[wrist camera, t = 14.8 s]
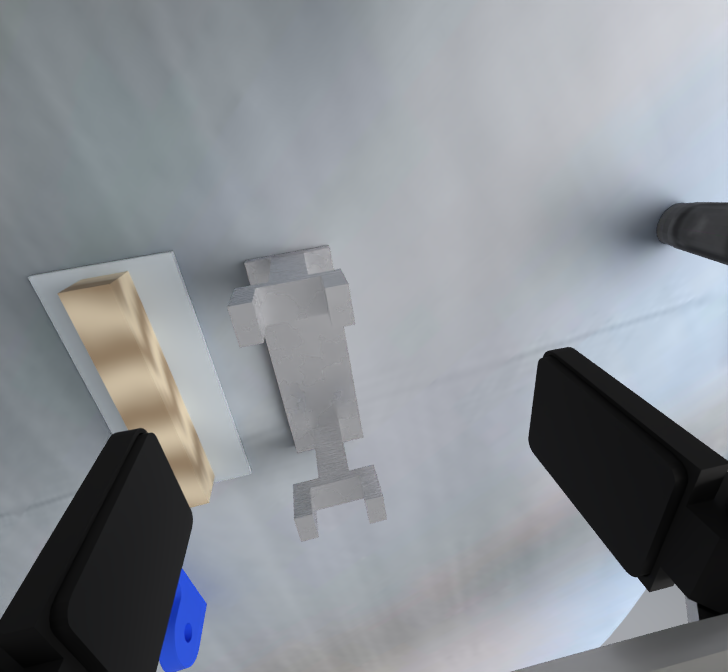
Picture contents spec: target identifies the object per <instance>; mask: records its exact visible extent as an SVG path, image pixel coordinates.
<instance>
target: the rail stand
mask: <svg viewBox="0 0 728 672" xmlns="http://www.w3.org/2000/svg"><path fill="white" fill-rule="evenodd" d="M244 264H245V268H246V271H247V275H248V278H249V282H250V286H245V287H240V288H234V291H233V294H232V296H231V299H230V301H229V304H228V306H227V308H228V311H229V314H230V317H231V320H232V324H233V327H234V330H235V333H236V336H237V339H238V343H239V346H240V348H241V347H246V346H251V345H256V344H261V343H264V336H265V339H266V343H267V346H268V350H269V354H270V357H271V361H272V364H273V368H274V371H275V375H276V379H277V382H278V386H279V389H280V393H281V396H282V400H283V404H284V407H285V411H286V414H287V418H288V422H289V425H290V429H291V432H292V436H293V439H294V443H295V447H296V450H297V453H300V452H304V451H308V450H313V449H316V458H317V467H318V476H319V478H318V479H314V480H310V481H305V482H301V483H297V484H293V498H294V521H295V524H296V527H297V530H298V533H299V536H300V540H301V542H302V541H306V540H310V539H314V538H318V537H319V535H318V524H317V513H316V510H320V509H324V508H328V507H332V506H335V505H339V504H343V503H347V502H351V501H355V500H359V499H363V498H364V500H365V505H366V509H367V513H368V517H369V522H370V524H371V523H375V522H379V521H382V520H386V519H387V518H386V512H385V505H384V499H383V495H382V491H381V488H380V484H379V481H378V478H377V474H376V471H375V467H374V465H371V466H366V467H362V468H358V469H354V470H350V471H349V469H348V464H347V459H346V454H345V449H344V445H343V442H346V441H351V440H355V439H359V438H363V432H362V427H361V421H360V415H359V410H358V404H357V398H356V393H355V387H354V381H353V376H352V370H351V364H350V359H349V353H348V347H347V342H346V336H345V331H344V326H349V325H354V324H355V320H354V314H353V308H352V302H351V296H350V290H349V284H348V282H347V280H346V278H345V276H344V274H343V272H342V270H341V269H336V270H334V268H333V263H332V257H331V251H330V247H329V245H328V246H322V247H317V248H311V249H305V250H300V251H294V252H289V253H283V254H278V255H272V256H266V257H261V258H255V259H250V260H245V263H244Z"/></svg>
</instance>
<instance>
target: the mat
mask: <svg viewBox="0 0 728 672" xmlns="http://www.w3.org/2000/svg"><path fill="white" fill-rule="evenodd" d="M126 271H129V274H130V276H131V278H132V281H133V283H134V285H135V288H136V290H137V293H138V295H139V297H140V300H141V302H142V304H143V307H144V309H145V312H146V314H147V316H148V319H149V321H150V323H151V326H152V328H153V331H154V333H155V335H156V338H157V340H158V342H159V345H160V347H161V350H162V352H163V354H164V357H165V359H166V361H167V364H168V366H169V368H170V371H171V373H172V376H173V378H174V380H175V383H176V385H177V387H178V390H179V392H180V395H181V397H182V399H183V402H184V404H185V406H186V409H187V411H188V414H189V416H190V418H191V421H192V423H193V425H194V428H195V430H196V433H197V435H198V437H199V440H200V442H201V444H202V447H203V449H204V452H205V454H206V456H207V459H208V461H209V463H210V466H211V468H212V471H213V473H214V475H215V477H214V482H213V483H216V482H221V481H225V480H229V479H233V478H237V477H241V476H246V475H250V474H251V468H250V465H249V463H248V460H247V457H246V454H245V451H244V448H243V446H242V443H241V440H240V437H239V434H238V432H237V429H236V426H235V423H234V420H233V418H232V415H231V412H230V409H229V406H228V404H227V401H226V398H225V395H224V392H223V390H222V387H221V384H220V381H219V378H218V376H217V373H216V370H215V367H214V364H213V362H212V359H211V356H210V353H209V350H208V348H207V345H206V342H205V339H204V336H203V334H202V331H201V328H200V325H199V322H198V320H197V317H196V314H195V311H194V308H193V305H192V303H191V300H190V297H189V294H188V291H187V289H186V286H185V283H184V280H183V277H182V275H181V272H180V269H179V266H178V263H177V261H176V258H175V255H174V252H173V251H168V252H163V253H157V254H151V255H145V256H140V257H134V258H128V259H122V260H117V261H111V262H105V263H99V264H93V265H88V266H82V267H76V268H70V269H65V270H59V271H53V272H47V273H42V274H36V275H31V276H29V277H28V279H29V280H30V282H31V284H32V286H33V288H34V290H35V292H36V293H37V295H38V297H39V299H40V301H41V303H42V305H43V306H44V308H45V310H46V312H47V314H48V316H49V317H50V319H51V321H52V323H53V325H54V327H55V329H56V330H57V332H58V334H59V336H60V338H61V340H62V342H63V343H64V345H65V347H66V349H67V351H68V353H69V355H70V356H71V358H72V360H73V362H74V364H75V366H76V368H77V369H78V371H79V373H80V375H81V377H82V379H83V381H84V382H85V384H86V386H87V388H88V390H89V392H90V394H91V395H92V397H93V399H94V401H95V403H96V405H97V407H98V408H99V410H100V412H101V414H102V416H103V418H104V420H105V421H106V423H107V425H108V427H109V429H110V431H111V433H112V434H114V433H116V432H121V431H127V430H128V429H127V427H126V425H125V423H124V421H123V419H122V417H121V415H120V413H119V411H118V410H117V408H116V406H115V404H114V402H113V400H112V398H111V396H110V394H109V392H108V390H107V388H106V386H105V384H104V383H103V381H102V379H101V377H100V375H99V373H98V371H97V369H96V367H95V365H94V363H93V361H92V359H91V357H90V356H89V354H88V352H87V350H86V348H85V346H84V344H83V342H82V340H81V338H80V336H79V334H78V332H77V330H76V329H75V327H74V325H73V323H72V321H71V319H70V317H69V315H68V313H67V311H66V309H65V307H64V305H63V303H62V301H61V300H60V298H59V296H58V294H57V293H59V292H61V291H62V290H64V289H66V288H68V287H69V286H71V285H73V284H74V283H76V282H78V281H80V280H81V279H87V278H92V277H98V276H103V275H109V274H114V273H120V272H126Z"/></svg>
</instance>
